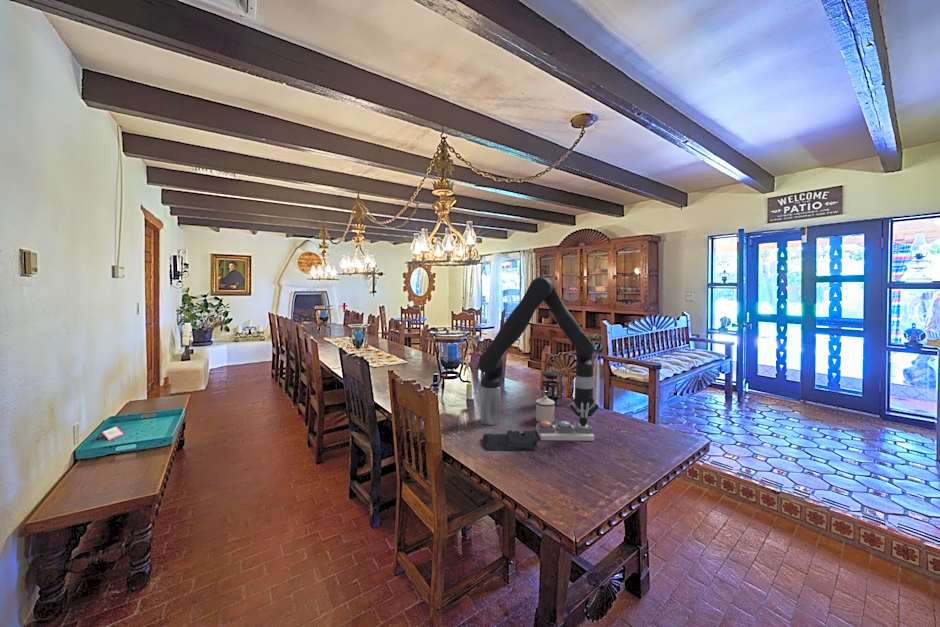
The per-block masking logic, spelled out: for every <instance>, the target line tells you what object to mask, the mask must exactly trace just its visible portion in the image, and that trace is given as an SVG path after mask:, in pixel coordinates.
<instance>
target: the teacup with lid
mask: <svg viewBox="0 0 940 627" xmlns="http://www.w3.org/2000/svg"><path fill="white" fill-rule="evenodd" d="M554 405H555V402H554V401H553V400H550V399H549V398H548V397H547V396H546V395H543V398H542V397H541V398H538V399H536V400H535V420H536V422H537V423H541V421H549V422H551V423H552V424H553V423H554V422H555V407H554Z"/></svg>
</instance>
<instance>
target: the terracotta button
mask: <svg viewBox="0 0 940 627" xmlns="http://www.w3.org/2000/svg"><path fill="white" fill-rule="evenodd" d="M540 423H541V425H540V427H541V428H551V422H549V421H541V422H540Z"/></svg>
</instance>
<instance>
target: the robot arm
mask: <svg viewBox="0 0 940 627" xmlns="http://www.w3.org/2000/svg"><path fill="white" fill-rule="evenodd" d="M542 302H544V303H545V304H546V306H547V307H548V308H549V310H550V312H551V313H552V315H553V317H554V319H555V321H556V323H557V325H558V327H560V330H561V331H562V333H563V334H564V335H565V336H566V337H567V338H568V340H569V341H570V343H571V344H572V346H573V348H574V349H575V356H576V357H575V358H576V366H575V378H574V398H573V401H572V402H569V403H568V407H569V408H570V409H571V410H572V411H573V413H574V414H575V415H576V417H579V422H578V423H580V424H581V426H586V425H587V423H588V418H589V417H592V416H593V415H594V414H595V413H596V412H597V410H598V409H599V408H600V405H599V404H598V403H596V402H595V400H594V365H593V354H594V352H595V345H594V344H593V342H592V341H591V340H590V339H589V337H588V336H587V335H586V334H585V333H584V331H583V329H582V327H581V326H580V325H579V323H578V321H577V320H576V319H575V317H574V316H573V315H572V313H571V312H570V311H569V310H568V308H567V306H566V305H565V303H564V302H563V301H562V299H561V297H560V295H559V294H558V292H557V290H556V288H555V286H554V283H553V281H552V279H550V278H549V277H547V276H543V275H541V276H537V277H535V278H534V279H533V280H532V281H531V282H530V284H529V286H528V288H527V290H526V292H525V293H524V296H523V297H522V299H521V301H520V302H519V303H518V305H517V306H516V307H515V308H514V309H513V310H512V311H511V313H510V314H509V316H508V317H507V319H506V320H505V321H504V323H503V324H502V326H501V327H500V330H499V331H498V332H497V334H496V335H495V337H494V339H493V340H492V342H491V343H490V344H489V346H488V347H487V348H486V349H485V350H484V352H483V353H481V355H480V356H479V359H478V369H479V370H480V371H481V372H482V373H484V374H483V377H482V378H481V380H480V424H481V425H482V424H483V425H488V426H496V425H499V424H500V423H501V404H502V402H501V396H502V395H501V392H502V388H501V386H502V380H503V373H504V371H503V369H504V360H503V356H504V354H505V353H506V352H507V351H508V350H509V349H510V348H511V347H512V346H513V345H514V344H515V343H516V342H517V341H518V340H519V338H520V337H521V336H522V335H523V333H524V332H525V330H526V329H527V327H528V326H529V324H530V321H531V319H532V317H533V315H534V314H535V312H536V310H537V309H538V308H539V307H540V305H541V304H542ZM576 407H577V409H578V411H577V409H576Z"/></svg>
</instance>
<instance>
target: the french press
mask: <svg viewBox="0 0 940 627" xmlns="http://www.w3.org/2000/svg"><path fill="white" fill-rule="evenodd" d="M546 365H549V367H550V368H549V371H544V372H543V371H542V373H541V375H542V376H543V377H545V378H546V379H547V380H542V381H541V398H543V396H547V397H548V398H549V399H550V400H553V401H554V402H555V405H554V408H556V407H559V405H560V404H559V400H562V398H563V397H562V396H563V395H562V394H563V383H562V382H561V381H560V382H559V381H557V380H558V379H559V376H560V373H558V372H555V371H554V372H553V371H552V370H551V369H552V365H555V362H552V361H548V362H546ZM544 387H545V390H544ZM555 389H556V390H555ZM559 389H560V390H559ZM559 392H560V393H559Z"/></svg>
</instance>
